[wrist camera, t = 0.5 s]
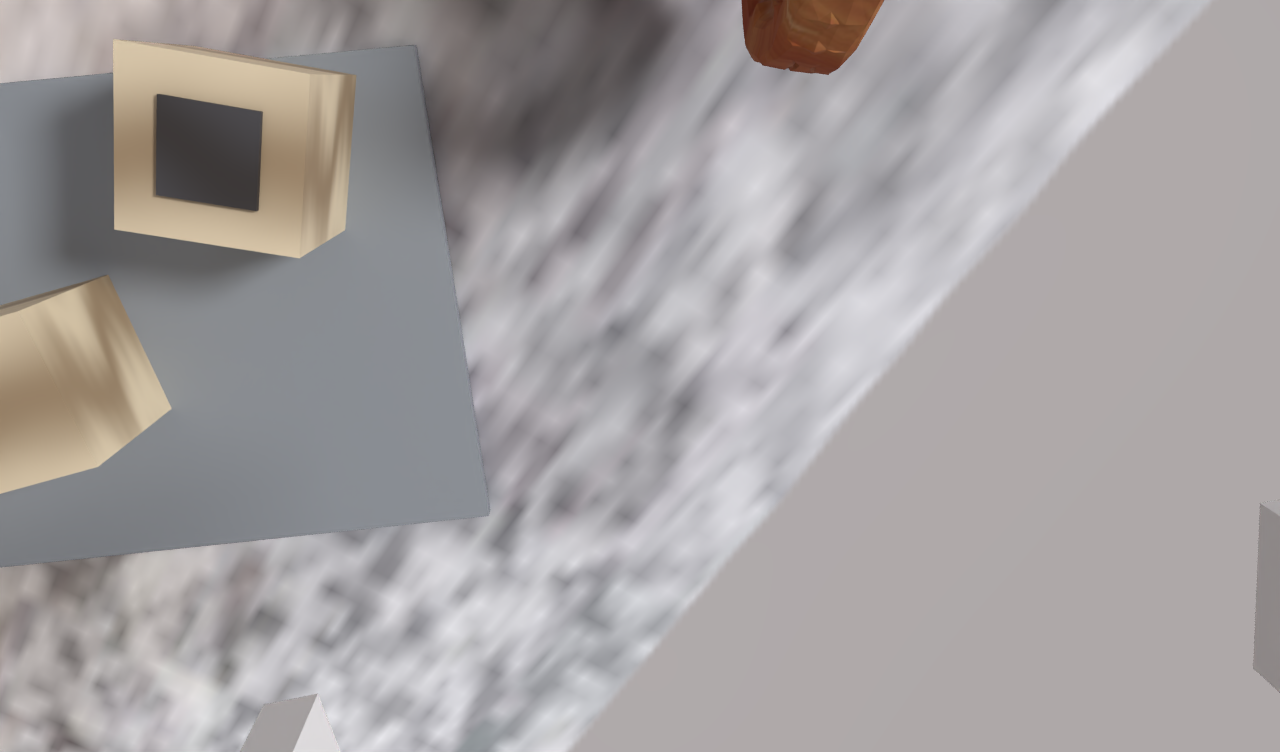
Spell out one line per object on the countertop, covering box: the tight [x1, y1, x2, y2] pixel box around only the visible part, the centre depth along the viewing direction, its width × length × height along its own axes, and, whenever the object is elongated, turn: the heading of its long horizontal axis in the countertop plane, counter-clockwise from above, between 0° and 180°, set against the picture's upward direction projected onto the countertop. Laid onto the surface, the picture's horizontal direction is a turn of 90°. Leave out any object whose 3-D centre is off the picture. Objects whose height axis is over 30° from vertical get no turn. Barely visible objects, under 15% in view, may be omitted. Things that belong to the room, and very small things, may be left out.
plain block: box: [0, 275, 172, 494], centre depth 34 cm, size 6×6×6 cm
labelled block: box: [113, 39, 356, 258], centre depth 32 cm, size 6×6×6 cm
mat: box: [0, 45, 490, 567], centre depth 37 cm, size 20×32×1 cm, turn 95°
